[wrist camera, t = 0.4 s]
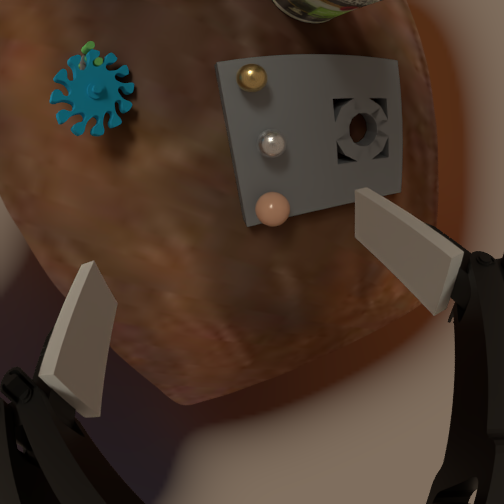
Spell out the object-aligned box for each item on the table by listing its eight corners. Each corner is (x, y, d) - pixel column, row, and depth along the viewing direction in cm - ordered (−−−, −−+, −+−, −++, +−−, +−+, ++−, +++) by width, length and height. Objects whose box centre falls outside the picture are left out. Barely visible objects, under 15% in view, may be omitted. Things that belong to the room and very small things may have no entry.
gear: (141, 127, 26) (57, 144, 19) (115, 136, 29) (43, 153, 22) (135, 40, 22) (54, 40, 14) (109, 58, 25) (39, 63, 17)
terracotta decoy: (249, 191, 32) (257, 203, 29) (281, 184, 33) (293, 195, 29) (254, 221, 34) (262, 236, 31) (285, 214, 35) (296, 227, 31)
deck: (243, 218, 37) (247, 227, 34) (214, 65, 26) (216, 62, 24) (391, 186, 39) (400, 192, 37) (386, 60, 28) (397, 60, 26)
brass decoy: (231, 67, 24) (236, 63, 22) (260, 64, 25) (269, 60, 22) (236, 94, 26) (241, 93, 23) (265, 90, 26) (273, 89, 24)
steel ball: (251, 130, 29) (258, 133, 26) (279, 125, 29) (288, 128, 26) (255, 157, 30) (263, 163, 28) (282, 152, 31) (292, 157, 28)
